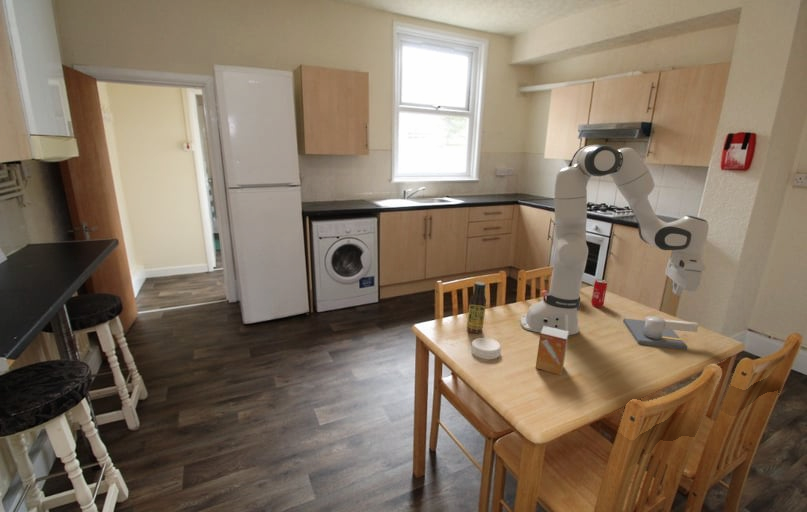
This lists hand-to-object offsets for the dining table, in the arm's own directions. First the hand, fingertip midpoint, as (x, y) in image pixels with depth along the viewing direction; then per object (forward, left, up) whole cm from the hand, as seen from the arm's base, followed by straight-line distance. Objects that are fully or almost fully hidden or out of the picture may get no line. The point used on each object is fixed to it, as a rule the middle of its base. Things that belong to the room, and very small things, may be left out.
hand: (676, 294), depth 147 cm
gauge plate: (-6, -2, -17) cm, 18 cm away
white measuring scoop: (-2, -6, -15) cm, 17 cm away
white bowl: (-69, -35, -18) cm, 79 cm away
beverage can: (-21, +24, -18) cm, 36 cm away
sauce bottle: (-74, -19, -18) cm, 78 cm away
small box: (-48, -39, -18) cm, 64 cm away
